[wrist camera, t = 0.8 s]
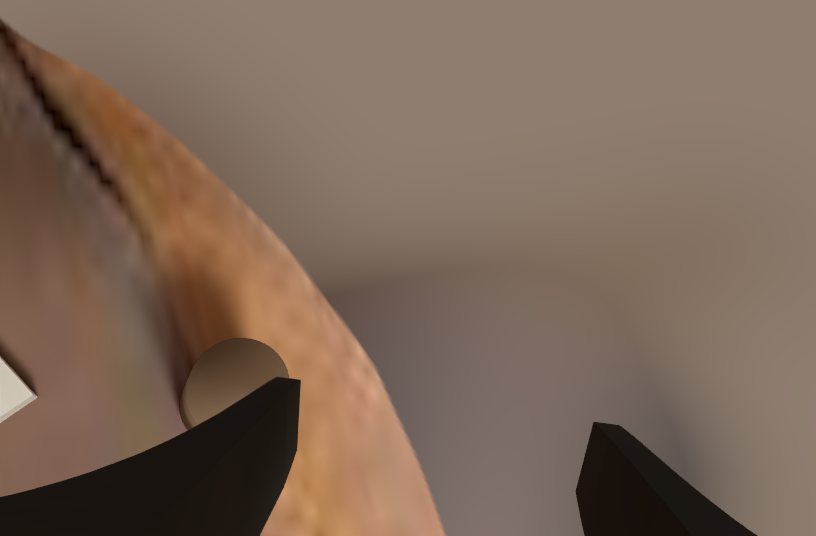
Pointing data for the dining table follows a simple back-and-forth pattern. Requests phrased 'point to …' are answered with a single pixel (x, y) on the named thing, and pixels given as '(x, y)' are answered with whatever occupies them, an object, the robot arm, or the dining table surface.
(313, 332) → the dining table surface
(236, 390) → the peg
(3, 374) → the socket block
